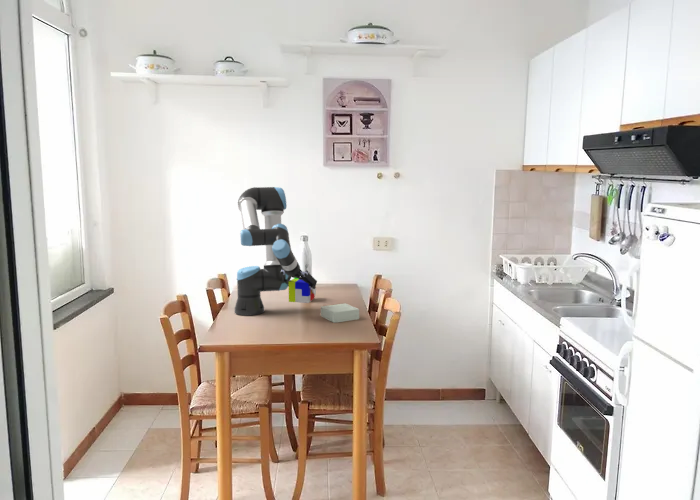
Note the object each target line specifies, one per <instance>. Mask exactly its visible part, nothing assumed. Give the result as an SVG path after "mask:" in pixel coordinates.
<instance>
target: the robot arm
mask: <svg viewBox="0 0 700 500" xmlns="http://www.w3.org/2000/svg"><path fill="white" fill-rule="evenodd" d="M287 205H288V204H287V197H286V193H285V190H284V189H283V188H282V187H280V186H279V187H275V186H268V187H267V186H264V187H261V186H260V187H258V186H257V187H255V186H254V187H250V188H248V189H246V190H244V191H243V192H242V193H241V195H240V196H239V198H238V202H237V207H238V210H239V212H240V214H241V222H242V227H243V229H242V230H240V233H239V235H240V244H241V246H245V247H255V246H256V247H257V246H265V258H266V262H265V263H264V264H263V268H261V267H260V266H259V265H251V266H246V267H245V266H244V267H242V268H240V269H238V270H237V272H236V280H237V282H236V284H237V286H236V287H237V288H236V289H237V299H236V302H235V306H234V314H235V313H236V314H235V315H237V314H238V316H256V315H261V314H264V312H265V305H264V303H263V301H262V297H261V293H262V292H280V291H286V290H287V289H289V281H291V280H292V279H294V278H298V279H300V280H303V281H304V282H306V283H308V284H309V285H310V286H309V287H310V289H311V290H312V292H313V294H315V291H316V292H317V282H318V280H317V279H315V277H313V276H312V274H310V272H309V271H308V269H307V270H306V269H305V271H303V270H302V269H301V267H300V264H299V262H298V260H297V258H296V257H295V254H294V253H293V250H292V247H291V246H292V245H291V242H290V235H289V230H288V227H287V225H285V224H284V223H282V215H283V214H284V211H285V210H286V209H287ZM257 210H258V211H260V213H261V215H262V216H263V217H264V228H260V222H259V216H258V213H257ZM315 287H316V288H315ZM315 295H316V294H315Z"/></svg>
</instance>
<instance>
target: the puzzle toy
mask: <svg viewBox="0 0 700 500" xmlns="http://www.w3.org/2000/svg"><path fill="white" fill-rule="evenodd" d="M290 280H291V281H289V287H288V303H301V304H309V303H311V302H312V301H313V300H315V297H314V294H313V292H312V290H311V289H310V287H309V286H310V285H309V284H308V283H306V282H304V281H303V280H300V279H298V278H291V279H290Z"/></svg>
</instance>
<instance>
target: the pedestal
mask: <svg viewBox="0 0 700 500" xmlns="http://www.w3.org/2000/svg"><path fill="white" fill-rule="evenodd" d="M320 317H321V318H323V319H326V320H327V321H329V322H332V323H334V324H335V323H336V324H337V323H342V322H348V321H354V320H360V308H357V307H355V306H352V305H350V304H348V303H339V304H338V303H337V304H332V305H324V306H322V305H321V306H320Z"/></svg>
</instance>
